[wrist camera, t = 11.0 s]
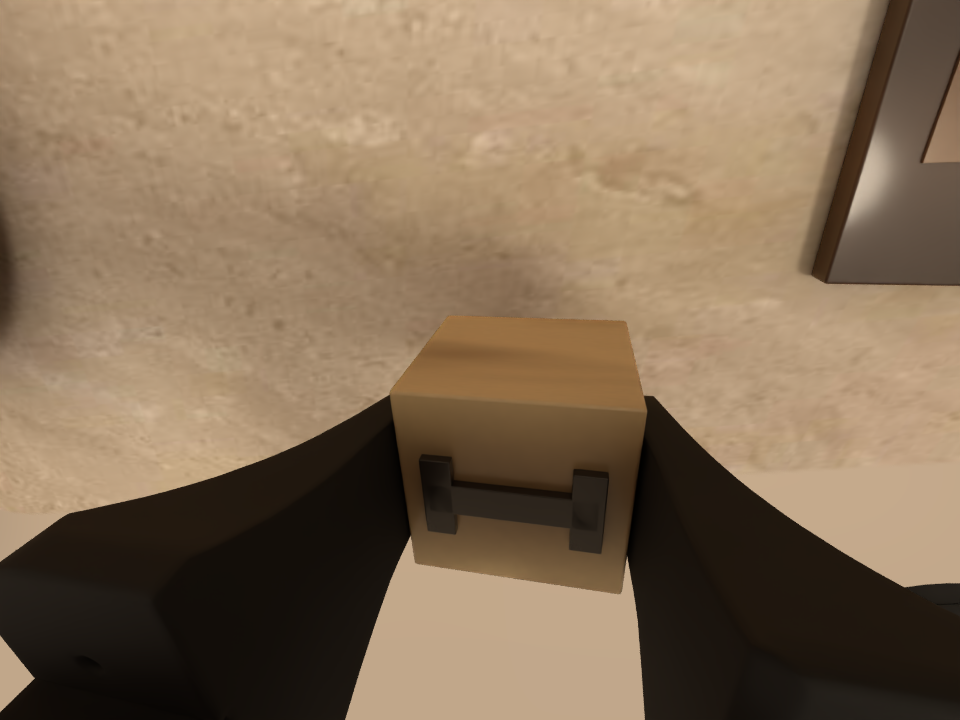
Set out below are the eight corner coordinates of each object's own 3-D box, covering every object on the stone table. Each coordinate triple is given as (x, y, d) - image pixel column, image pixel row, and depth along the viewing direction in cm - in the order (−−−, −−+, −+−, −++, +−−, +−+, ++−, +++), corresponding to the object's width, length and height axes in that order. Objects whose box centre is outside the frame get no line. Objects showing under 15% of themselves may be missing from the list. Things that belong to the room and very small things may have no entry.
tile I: (611, 467, 12) (622, 605, 9) (458, 453, 13) (411, 572, 10) (627, 319, 11) (650, 415, 7) (447, 314, 11) (382, 396, 8)
